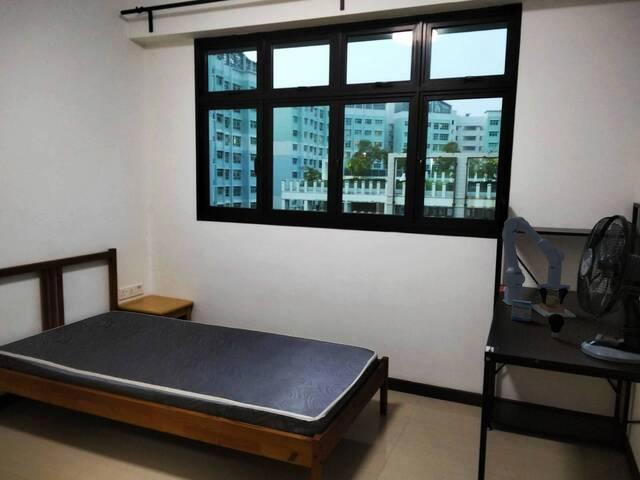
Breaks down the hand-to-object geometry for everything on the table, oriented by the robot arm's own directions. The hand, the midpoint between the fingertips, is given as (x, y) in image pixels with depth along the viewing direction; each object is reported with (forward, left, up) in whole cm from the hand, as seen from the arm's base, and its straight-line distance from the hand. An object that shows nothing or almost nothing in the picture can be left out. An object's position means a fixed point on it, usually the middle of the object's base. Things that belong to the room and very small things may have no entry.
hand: (552, 303), depth 225 cm
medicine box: (+15, -20, -4) cm, 25 cm away
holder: (0, 0, -4) cm, 4 cm away
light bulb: (+40, -16, -4) cm, 43 cm away
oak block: (0, 0, -3) cm, 3 cm away
